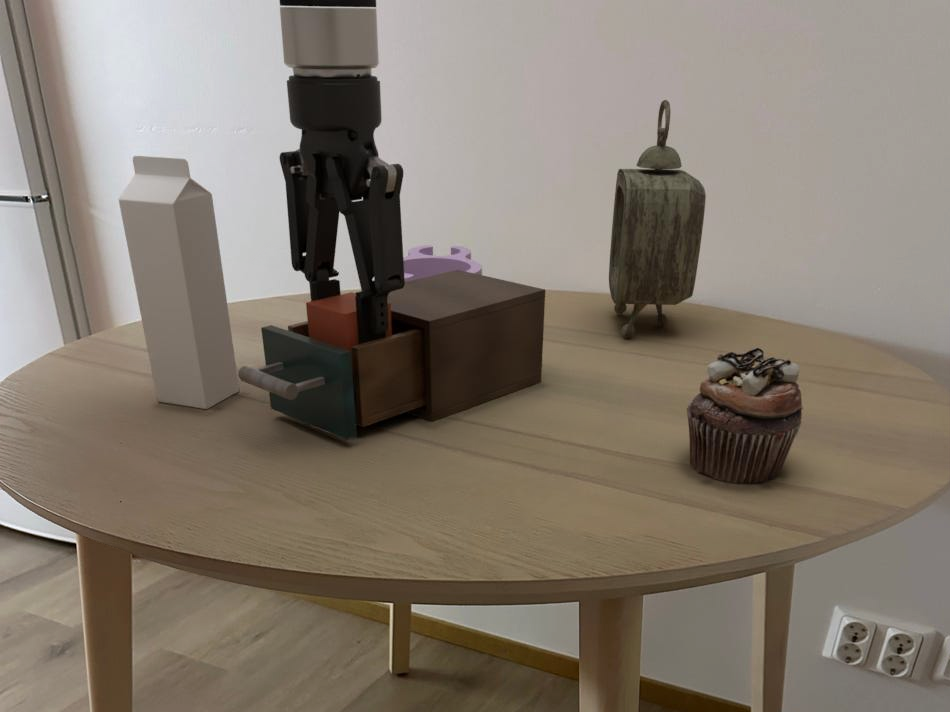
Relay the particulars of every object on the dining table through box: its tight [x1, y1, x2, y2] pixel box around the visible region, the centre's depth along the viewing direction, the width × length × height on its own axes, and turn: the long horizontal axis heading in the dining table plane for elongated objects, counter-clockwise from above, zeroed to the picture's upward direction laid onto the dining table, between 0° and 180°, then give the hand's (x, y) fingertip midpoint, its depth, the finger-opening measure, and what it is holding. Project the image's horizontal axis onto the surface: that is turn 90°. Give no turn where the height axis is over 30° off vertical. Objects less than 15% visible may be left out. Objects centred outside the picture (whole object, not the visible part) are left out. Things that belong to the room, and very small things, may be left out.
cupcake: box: [686, 347, 804, 485], centre depth 79 cm, size 10×10×10 cm
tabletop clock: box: [608, 99, 707, 339], centre depth 111 cm, size 14×9×25 cm, turn 178°
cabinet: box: [387, 270, 546, 422], centre depth 95 cm, size 17×13×10 cm
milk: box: [118, 155, 240, 410], centre depth 89 cm, size 6×6×22 cm
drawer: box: [237, 319, 426, 440], centre depth 88 cm, size 20×11×8 cm, turn 137°
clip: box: [403, 244, 483, 282], centre depth 118 cm, size 20×12×7 cm, turn 176°
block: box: [305, 292, 392, 374], centre depth 86 cm, size 6×6×6 cm
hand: (351, 358), depth 87 cm, fingers closed on block, 5 cm apart
